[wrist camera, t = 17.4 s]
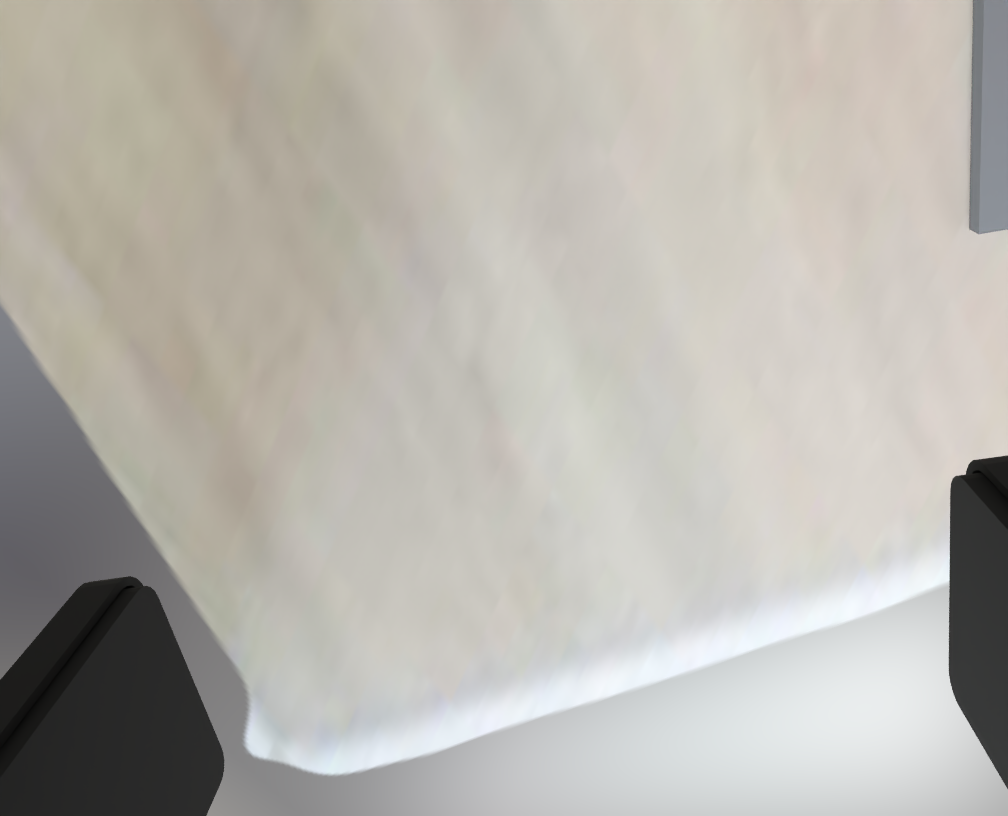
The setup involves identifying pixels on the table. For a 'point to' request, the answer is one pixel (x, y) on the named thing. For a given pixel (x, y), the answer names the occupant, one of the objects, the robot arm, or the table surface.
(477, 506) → the table surface
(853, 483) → the table surface
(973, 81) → the slate mat
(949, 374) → the table surface
